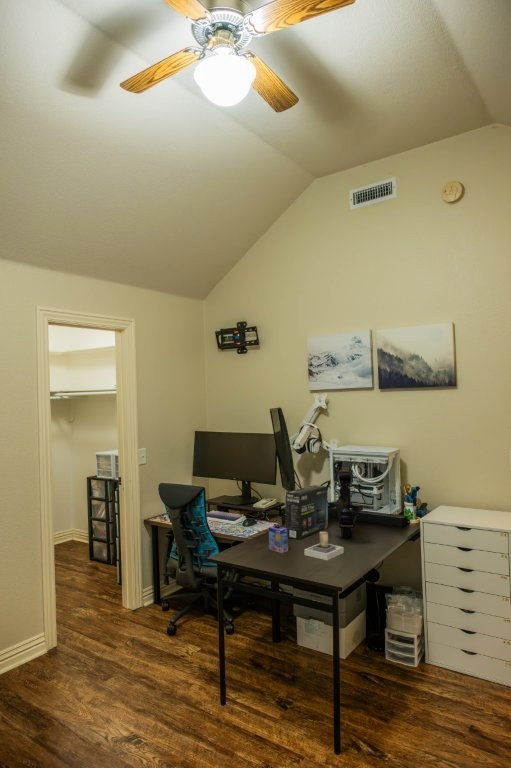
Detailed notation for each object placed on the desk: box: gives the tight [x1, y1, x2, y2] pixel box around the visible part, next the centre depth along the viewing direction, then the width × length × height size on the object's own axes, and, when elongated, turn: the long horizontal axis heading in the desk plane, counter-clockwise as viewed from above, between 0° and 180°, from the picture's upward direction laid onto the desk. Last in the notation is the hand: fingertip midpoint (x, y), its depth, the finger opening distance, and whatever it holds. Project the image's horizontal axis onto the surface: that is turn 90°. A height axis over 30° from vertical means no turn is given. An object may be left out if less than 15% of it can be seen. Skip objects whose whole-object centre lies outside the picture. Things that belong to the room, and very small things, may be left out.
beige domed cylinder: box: [319, 531, 329, 549], centre depth 252 cm, size 4×4×10 cm
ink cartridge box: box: [268, 523, 289, 554], centre depth 260 cm, size 10×6×14 cm, turn 45°
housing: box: [304, 542, 345, 561], centre depth 252 cm, size 14×16×4 cm
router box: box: [284, 484, 329, 540], centre depth 297 cm, size 36×11×27 cm, turn 144°
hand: (346, 521), depth 268 cm, fingers open, 9 cm apart
